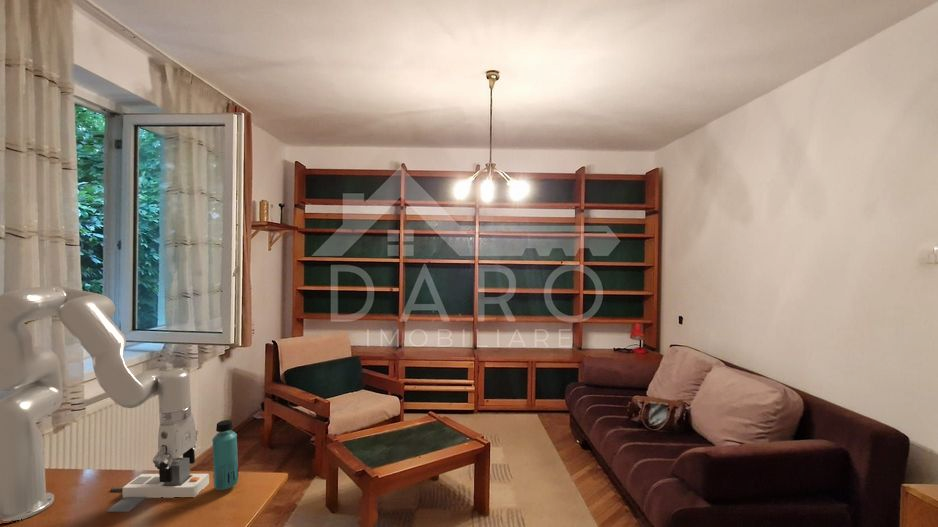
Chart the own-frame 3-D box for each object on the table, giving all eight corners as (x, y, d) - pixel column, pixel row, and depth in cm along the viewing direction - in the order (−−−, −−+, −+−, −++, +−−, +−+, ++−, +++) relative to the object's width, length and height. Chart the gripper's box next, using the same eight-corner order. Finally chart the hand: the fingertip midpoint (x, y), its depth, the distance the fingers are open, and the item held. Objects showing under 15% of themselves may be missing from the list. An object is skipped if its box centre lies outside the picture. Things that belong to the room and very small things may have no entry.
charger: (164, 489, 120) (163, 464, 120) (175, 480, 124) (174, 457, 124) (179, 489, 120) (179, 464, 120) (190, 480, 124) (189, 457, 124)
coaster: (106, 512, 112) (106, 510, 112) (124, 498, 118) (124, 497, 118) (129, 512, 112) (129, 510, 112) (146, 498, 118) (146, 497, 118)
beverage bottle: (227, 496, 119) (225, 427, 118) (207, 493, 121) (205, 425, 120) (244, 483, 126) (242, 418, 125) (225, 481, 127) (223, 416, 126)
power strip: (101, 497, 118) (100, 485, 118) (121, 483, 125) (121, 472, 125) (194, 497, 119) (193, 485, 119) (209, 483, 126) (208, 471, 126)
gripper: (167, 427, 113) (170, 489, 113) (206, 402, 130) (209, 456, 131) (139, 427, 112) (142, 489, 113) (182, 403, 130) (184, 457, 131)
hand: (178, 472), depth 122 cm, fingers open, 9 cm apart
